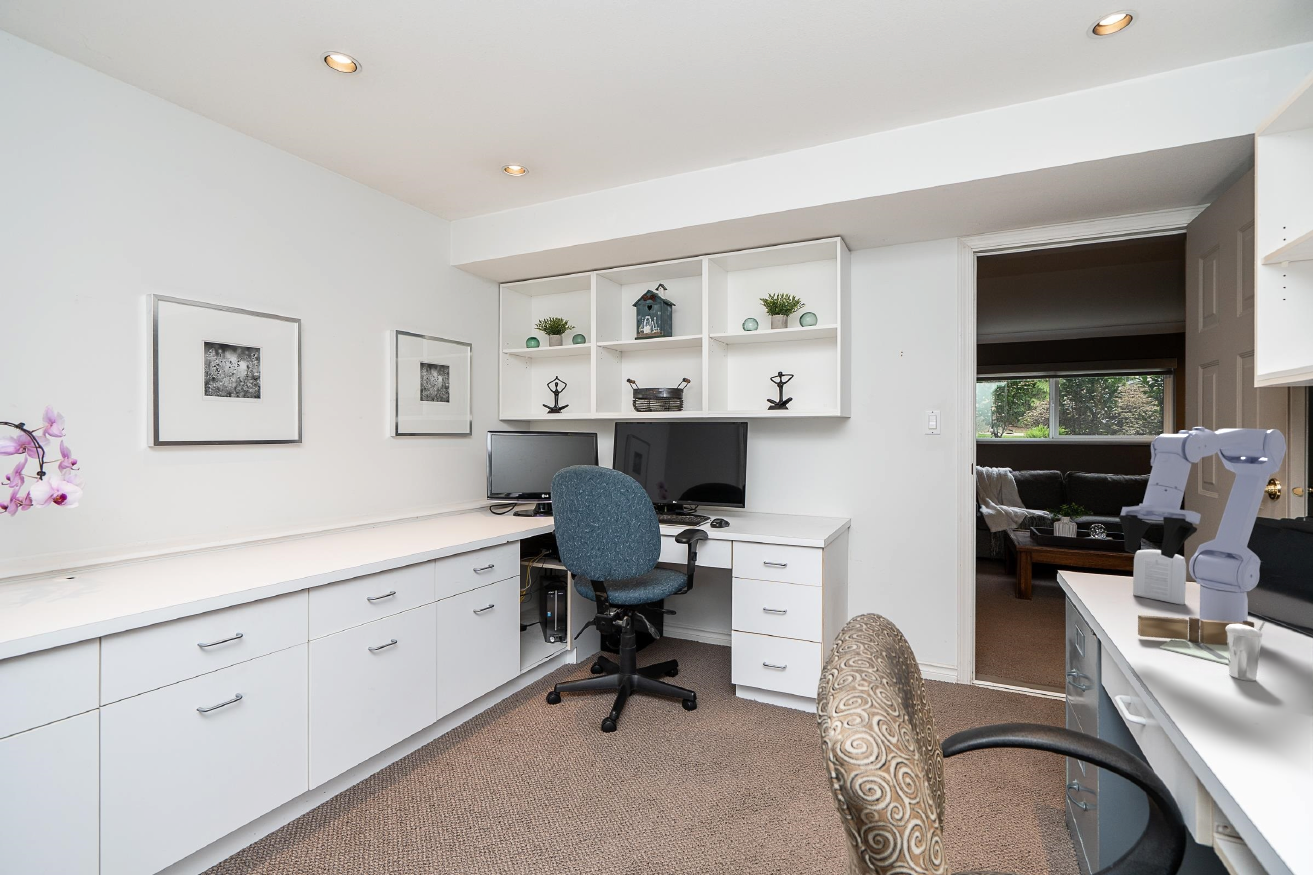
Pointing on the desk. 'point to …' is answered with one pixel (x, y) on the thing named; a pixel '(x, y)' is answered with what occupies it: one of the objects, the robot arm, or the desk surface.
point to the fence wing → (1163, 627)
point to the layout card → (1199, 649)
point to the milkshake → (1243, 650)
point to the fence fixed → (1210, 630)
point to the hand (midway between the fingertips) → (1147, 554)
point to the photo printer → (1159, 576)
